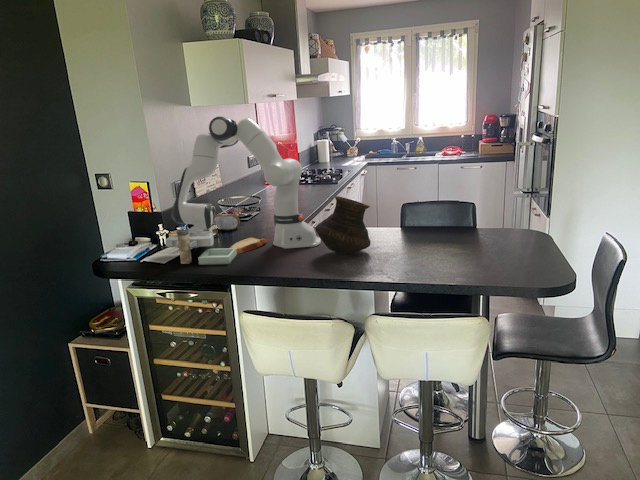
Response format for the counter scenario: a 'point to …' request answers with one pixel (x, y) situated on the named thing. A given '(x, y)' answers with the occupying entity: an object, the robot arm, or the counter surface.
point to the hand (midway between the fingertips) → (183, 246)
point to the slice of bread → (248, 244)
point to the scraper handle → (184, 246)
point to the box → (218, 256)
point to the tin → (226, 221)
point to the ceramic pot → (345, 227)
